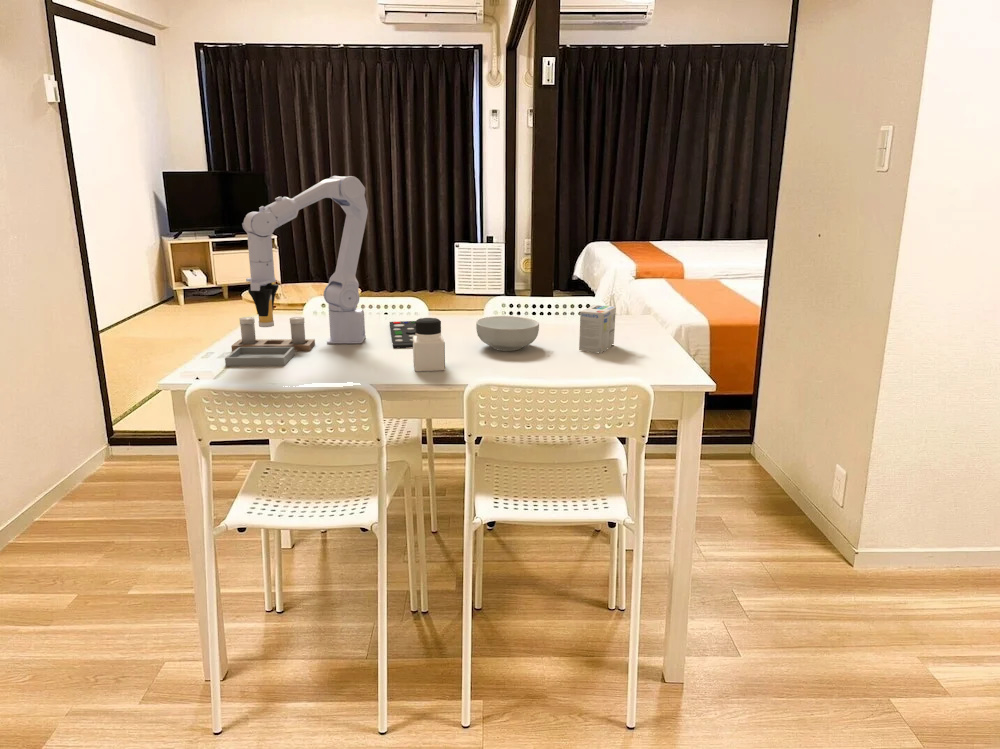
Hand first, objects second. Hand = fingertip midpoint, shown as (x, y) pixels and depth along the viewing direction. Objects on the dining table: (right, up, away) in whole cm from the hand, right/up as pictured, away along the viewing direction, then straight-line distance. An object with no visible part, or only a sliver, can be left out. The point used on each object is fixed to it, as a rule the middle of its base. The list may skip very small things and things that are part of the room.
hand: (265, 314), depth 184 cm
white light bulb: (-7, -8, +7) cm, 13 cm away
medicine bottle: (+43, -14, -10) cm, 46 cm away
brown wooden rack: (0, -8, +8) cm, 11 cm away
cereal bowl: (+62, -8, +10) cm, 63 cm away
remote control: (+34, -5, +24) cm, 42 cm away
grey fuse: (+6, -8, +8) cm, 13 cm away
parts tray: (0, -12, -4) cm, 13 cm away
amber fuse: (0, -3, +1) cm, 3 cm away
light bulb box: (+86, -8, +10) cm, 87 cm away
